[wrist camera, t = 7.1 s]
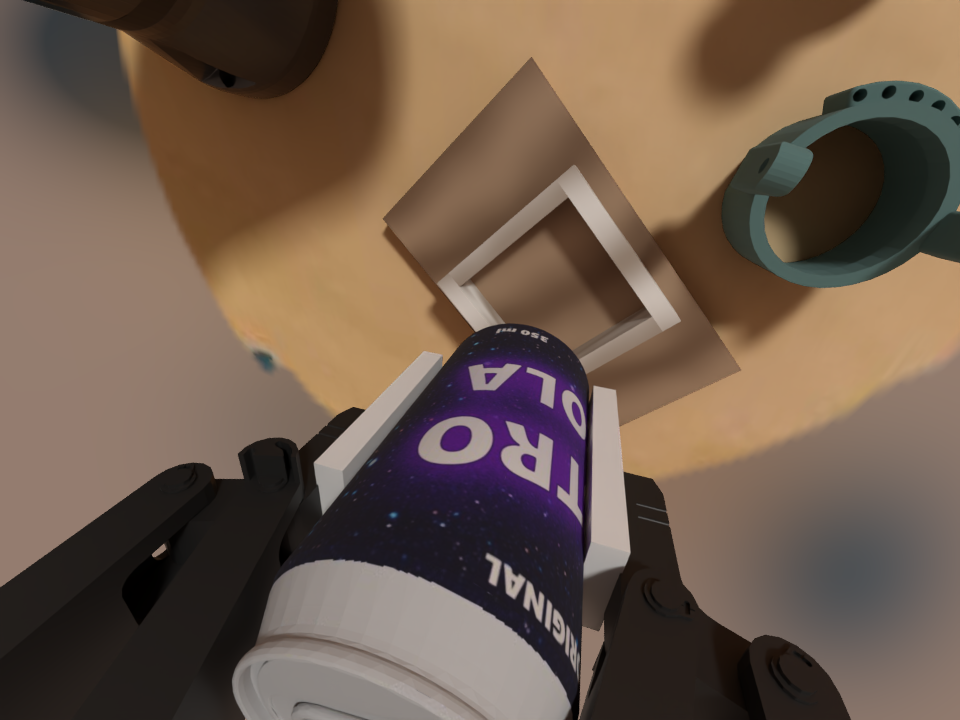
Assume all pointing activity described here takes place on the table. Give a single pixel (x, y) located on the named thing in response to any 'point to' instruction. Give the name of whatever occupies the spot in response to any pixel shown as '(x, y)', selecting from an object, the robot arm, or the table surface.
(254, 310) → the table surface
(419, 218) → the can holder
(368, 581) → the beverage can
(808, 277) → the teal cauldron pot
